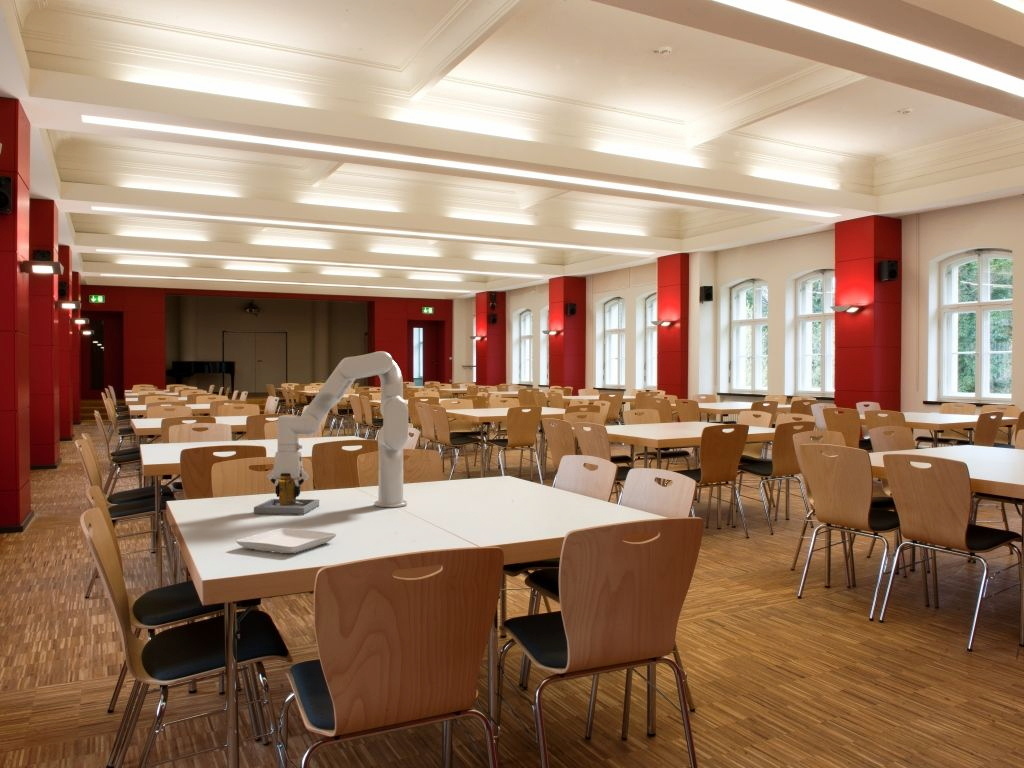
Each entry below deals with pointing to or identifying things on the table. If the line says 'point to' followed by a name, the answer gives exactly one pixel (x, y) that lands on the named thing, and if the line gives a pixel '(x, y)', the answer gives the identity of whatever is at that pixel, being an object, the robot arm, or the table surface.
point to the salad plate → (286, 540)
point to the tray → (286, 507)
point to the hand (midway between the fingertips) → (287, 495)
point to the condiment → (287, 491)
